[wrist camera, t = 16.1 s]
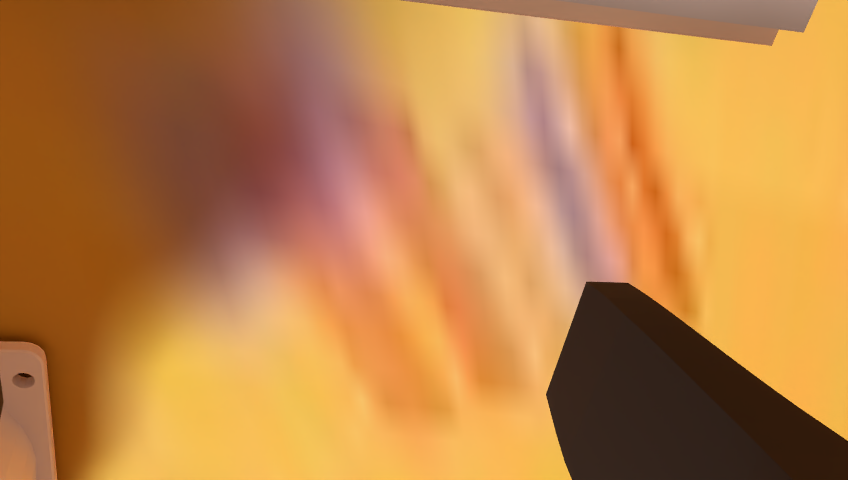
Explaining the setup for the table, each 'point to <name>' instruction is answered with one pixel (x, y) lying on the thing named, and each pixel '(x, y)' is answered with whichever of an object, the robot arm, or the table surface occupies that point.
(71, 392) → the table surface
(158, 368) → the table surface
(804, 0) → the walnut board
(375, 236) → the table surface
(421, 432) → the table surface
